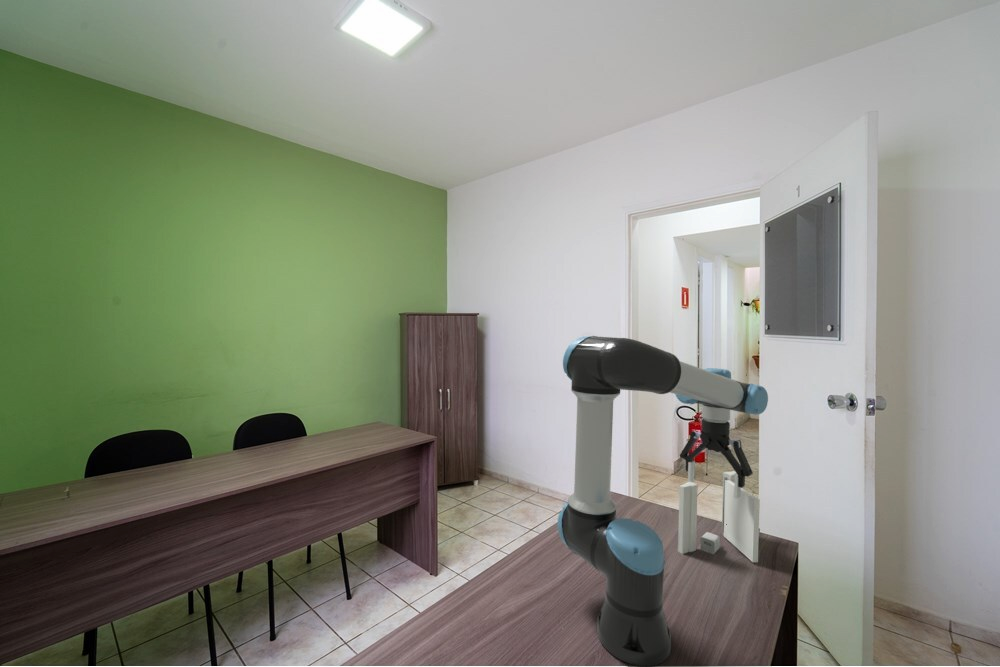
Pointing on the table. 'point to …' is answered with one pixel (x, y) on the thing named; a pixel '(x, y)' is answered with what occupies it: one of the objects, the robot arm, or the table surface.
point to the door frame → (693, 513)
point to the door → (742, 521)
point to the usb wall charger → (710, 542)
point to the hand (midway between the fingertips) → (713, 489)
